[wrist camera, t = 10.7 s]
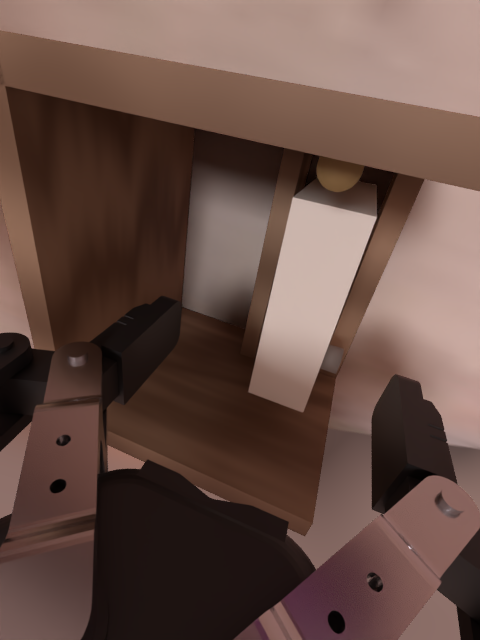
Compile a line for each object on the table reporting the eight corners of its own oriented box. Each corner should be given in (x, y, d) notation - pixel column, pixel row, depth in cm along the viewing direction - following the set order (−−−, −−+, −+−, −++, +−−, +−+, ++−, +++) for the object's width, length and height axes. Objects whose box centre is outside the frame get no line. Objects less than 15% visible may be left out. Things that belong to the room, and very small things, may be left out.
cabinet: (179, 79, 18) (-41, 23, 9) (439, 129, 16) (544, 128, 6) (167, 314, 27) (51, 418, 17) (333, 373, 24) (304, 536, 15)
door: (322, 173, 18) (292, 197, 12) (395, 189, 18) (407, 224, 11) (283, 320, 24) (247, 392, 17) (337, 337, 23) (322, 420, 16)
